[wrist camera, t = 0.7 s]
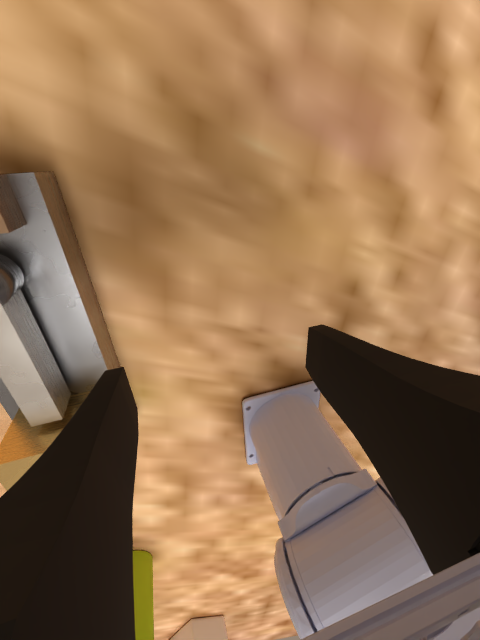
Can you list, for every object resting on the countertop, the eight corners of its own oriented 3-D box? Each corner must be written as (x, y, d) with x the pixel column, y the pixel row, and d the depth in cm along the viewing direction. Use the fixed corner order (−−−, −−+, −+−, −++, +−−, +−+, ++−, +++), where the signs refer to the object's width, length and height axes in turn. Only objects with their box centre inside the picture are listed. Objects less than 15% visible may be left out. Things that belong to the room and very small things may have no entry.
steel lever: (77, 391, 17) (69, 417, 15) (37, 400, 16) (23, 428, 15) (11, 248, 13) (-11, 261, 11) (-47, 254, 12) (-80, 269, 10)
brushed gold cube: (117, 431, 20) (112, 485, 16) (46, 449, 19) (24, 512, 15) (100, 388, 18) (90, 440, 14) (19, 406, 17) (-13, 467, 13)
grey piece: (137, 415, 23) (135, 470, 19) (57, 436, 22) (36, 500, 18) (53, 171, 14) (15, 173, 10) (-90, 180, 13) (-202, 186, 9)
